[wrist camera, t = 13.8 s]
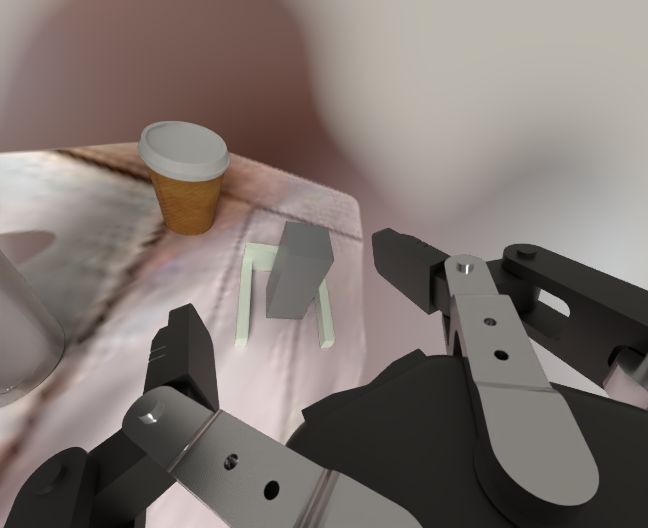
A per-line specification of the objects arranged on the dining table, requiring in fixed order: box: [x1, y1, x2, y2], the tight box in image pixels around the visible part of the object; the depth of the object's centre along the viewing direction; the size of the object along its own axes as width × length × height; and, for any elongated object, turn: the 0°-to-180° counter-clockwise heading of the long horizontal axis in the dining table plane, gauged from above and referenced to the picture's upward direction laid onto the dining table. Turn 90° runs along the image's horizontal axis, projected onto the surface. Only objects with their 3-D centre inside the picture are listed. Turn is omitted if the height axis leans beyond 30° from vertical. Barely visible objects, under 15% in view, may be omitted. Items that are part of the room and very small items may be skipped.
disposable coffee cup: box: [138, 121, 230, 235], centre depth 35 cm, size 10×10×12 cm
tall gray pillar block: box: [266, 221, 334, 319], centre depth 32 cm, size 5×4×12 cm
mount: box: [235, 242, 335, 348], centre depth 35 cm, size 12×11×4 cm
